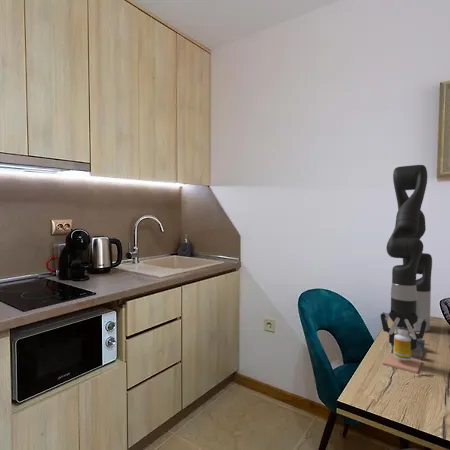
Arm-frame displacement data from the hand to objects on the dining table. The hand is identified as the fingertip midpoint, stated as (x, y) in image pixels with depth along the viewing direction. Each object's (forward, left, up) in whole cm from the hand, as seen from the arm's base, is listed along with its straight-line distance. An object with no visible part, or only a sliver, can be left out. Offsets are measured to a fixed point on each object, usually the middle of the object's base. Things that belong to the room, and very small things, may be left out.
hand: (402, 346), depth 108 cm
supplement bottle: (0, 0, -4) cm, 4 cm away
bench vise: (-15, 0, -6) cm, 16 cm away
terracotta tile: (0, 0, -6) cm, 6 cm away
